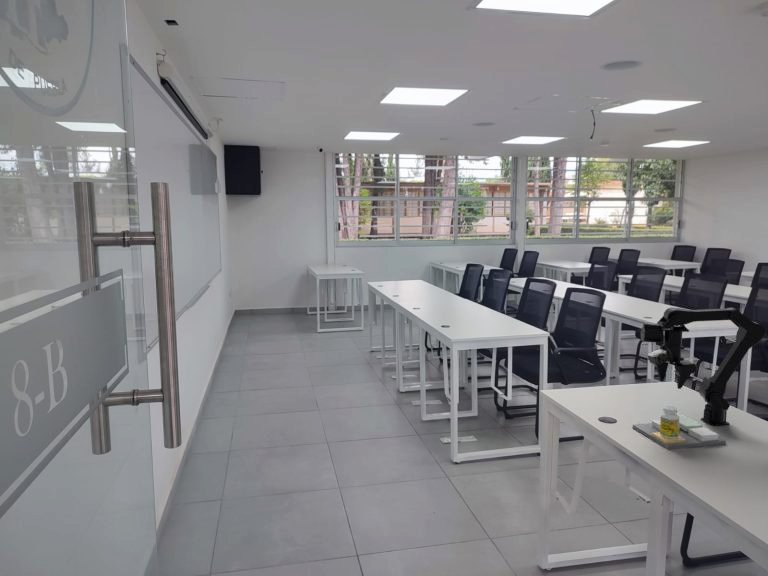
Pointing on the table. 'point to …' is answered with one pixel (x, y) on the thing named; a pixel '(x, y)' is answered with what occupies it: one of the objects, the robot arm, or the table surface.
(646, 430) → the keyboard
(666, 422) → the supplement bottle
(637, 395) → the table surface
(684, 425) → the green key
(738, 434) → the table surface
